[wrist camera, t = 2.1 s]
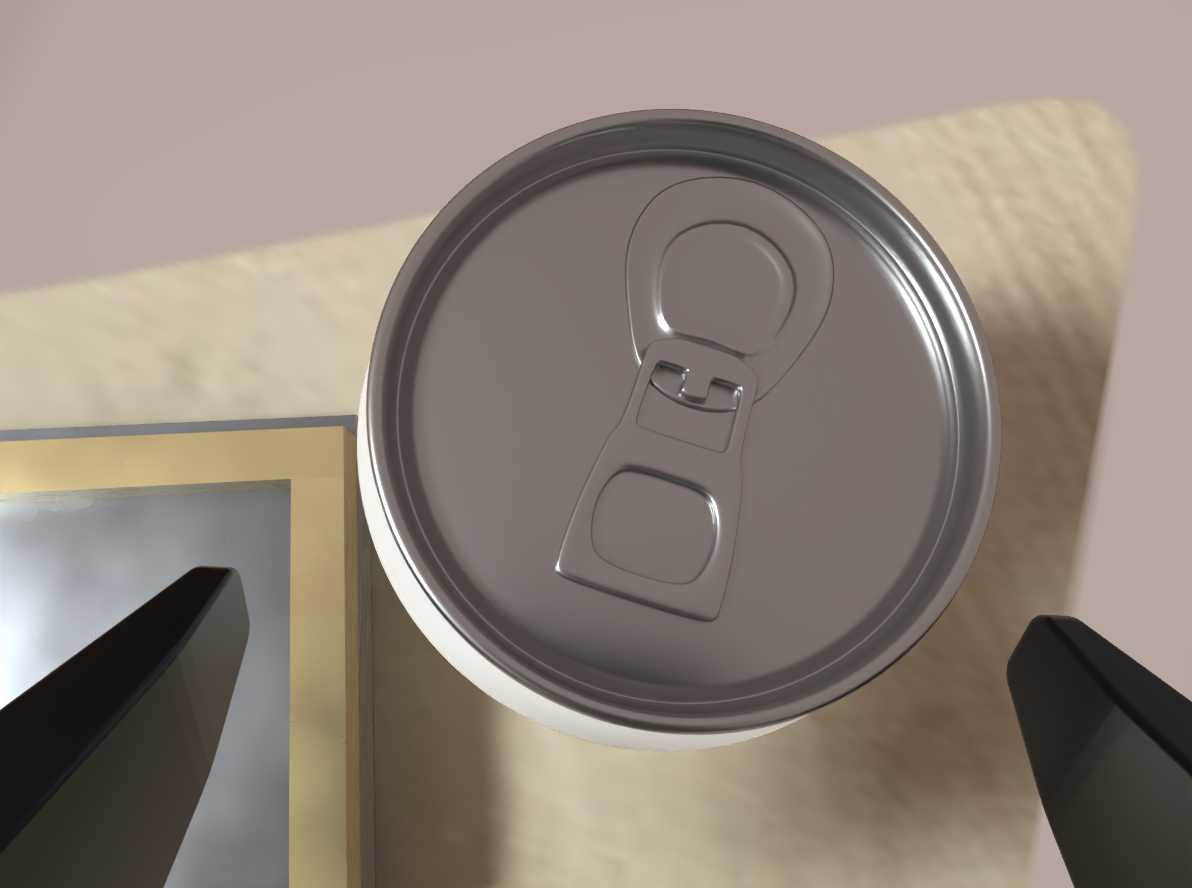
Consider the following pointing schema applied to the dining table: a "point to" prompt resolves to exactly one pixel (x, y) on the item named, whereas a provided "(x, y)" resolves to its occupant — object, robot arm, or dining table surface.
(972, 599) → the dining table surface
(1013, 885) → the dining table surface
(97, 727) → the robot arm
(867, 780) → the dining table surface
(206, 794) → the gold square coaster
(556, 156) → the can
